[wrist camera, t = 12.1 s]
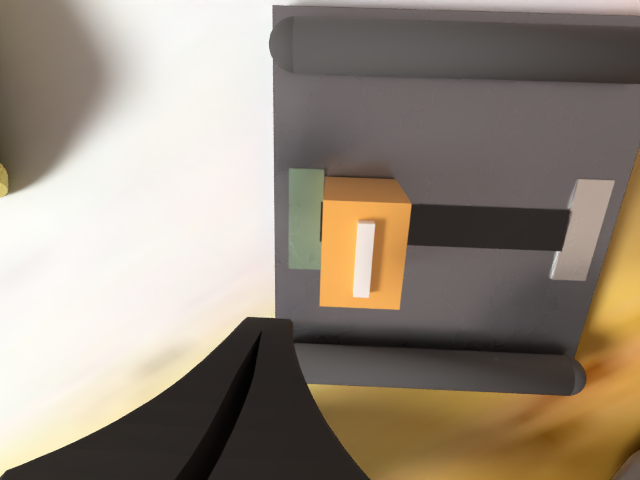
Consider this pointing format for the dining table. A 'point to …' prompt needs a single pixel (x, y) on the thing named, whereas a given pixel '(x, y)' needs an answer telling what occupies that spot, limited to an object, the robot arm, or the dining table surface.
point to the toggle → (363, 242)
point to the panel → (456, 194)
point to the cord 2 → (457, 49)
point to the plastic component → (3, 181)
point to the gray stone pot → (629, 468)
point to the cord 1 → (440, 369)
